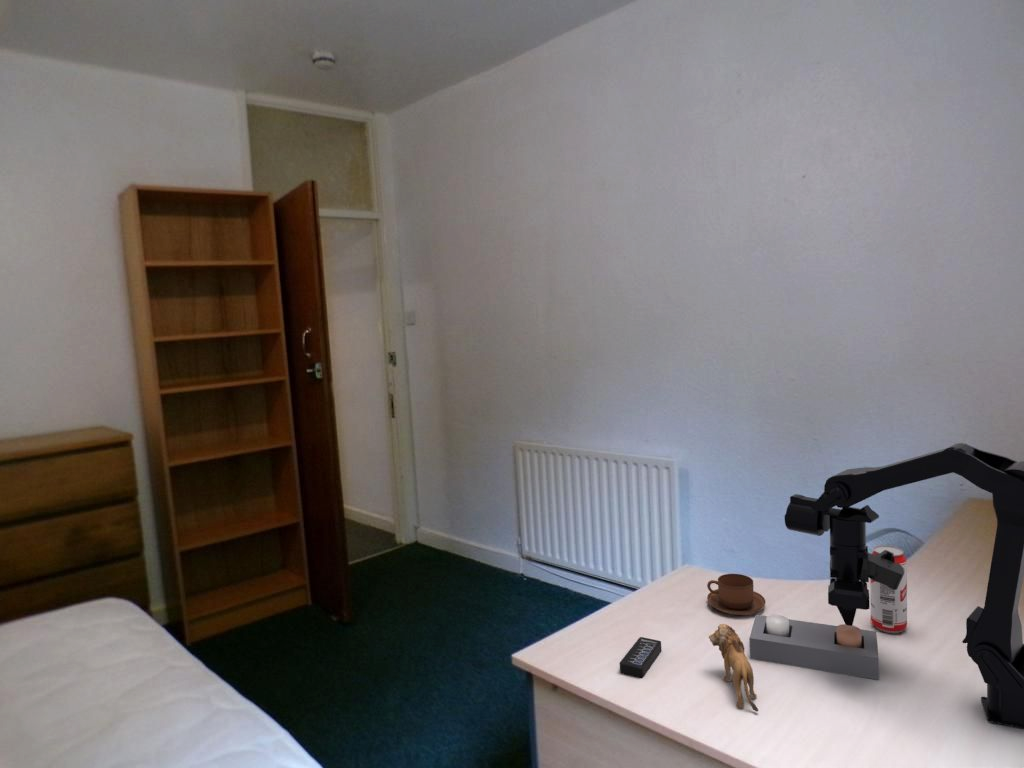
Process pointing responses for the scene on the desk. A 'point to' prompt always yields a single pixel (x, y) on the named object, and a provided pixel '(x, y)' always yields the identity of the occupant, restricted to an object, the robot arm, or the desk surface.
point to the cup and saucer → (735, 595)
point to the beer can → (889, 597)
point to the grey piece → (777, 625)
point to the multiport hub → (640, 657)
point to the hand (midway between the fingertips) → (849, 624)
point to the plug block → (815, 648)
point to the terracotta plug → (849, 636)
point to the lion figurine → (735, 662)
